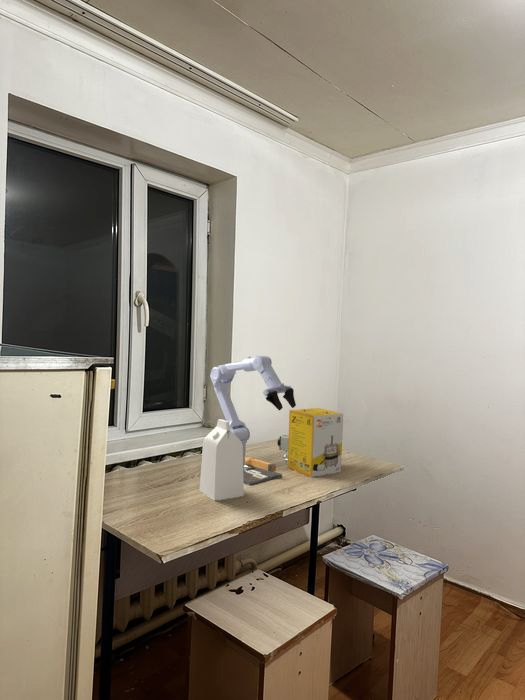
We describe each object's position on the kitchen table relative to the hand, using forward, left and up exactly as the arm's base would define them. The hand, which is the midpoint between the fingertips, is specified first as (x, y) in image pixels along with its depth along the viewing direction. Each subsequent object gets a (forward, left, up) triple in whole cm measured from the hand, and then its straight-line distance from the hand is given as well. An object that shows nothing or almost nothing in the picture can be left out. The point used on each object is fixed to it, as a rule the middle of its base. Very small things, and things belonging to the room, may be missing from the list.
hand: (287, 407), depth 188 cm
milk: (-2, -32, -28) cm, 43 cm away
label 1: (-11, -7, -28) cm, 31 cm away
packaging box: (0, +18, -28) cm, 34 cm away
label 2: (-5, -9, -28) cm, 30 cm away
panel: (-12, -9, -28) cm, 32 cm away
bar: (-11, -4, -26) cm, 28 cm away
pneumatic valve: (-16, +21, -28) cm, 39 cm away
